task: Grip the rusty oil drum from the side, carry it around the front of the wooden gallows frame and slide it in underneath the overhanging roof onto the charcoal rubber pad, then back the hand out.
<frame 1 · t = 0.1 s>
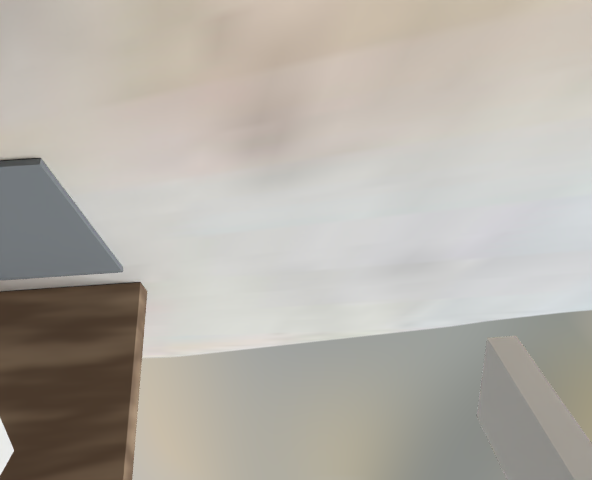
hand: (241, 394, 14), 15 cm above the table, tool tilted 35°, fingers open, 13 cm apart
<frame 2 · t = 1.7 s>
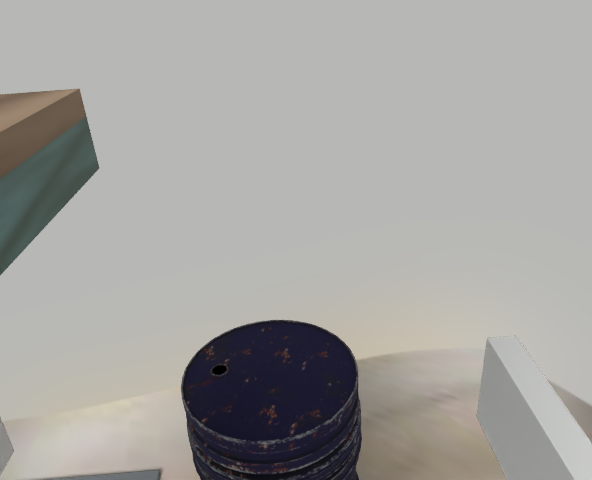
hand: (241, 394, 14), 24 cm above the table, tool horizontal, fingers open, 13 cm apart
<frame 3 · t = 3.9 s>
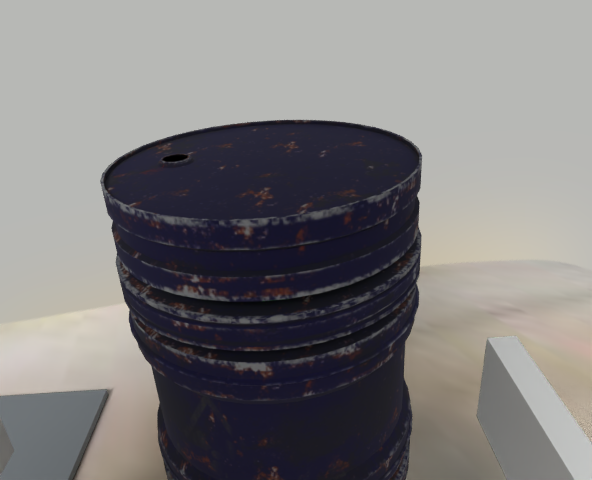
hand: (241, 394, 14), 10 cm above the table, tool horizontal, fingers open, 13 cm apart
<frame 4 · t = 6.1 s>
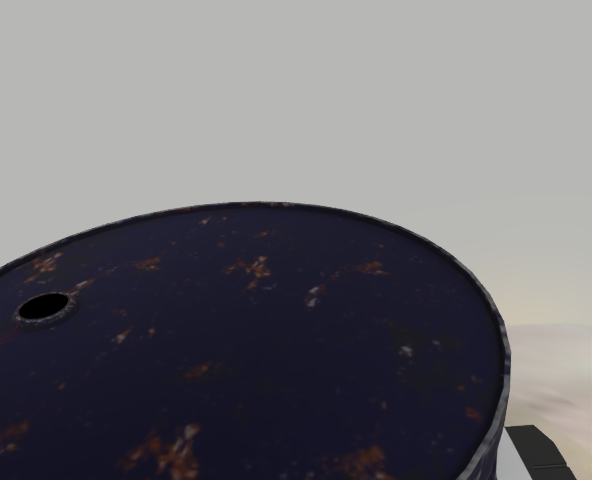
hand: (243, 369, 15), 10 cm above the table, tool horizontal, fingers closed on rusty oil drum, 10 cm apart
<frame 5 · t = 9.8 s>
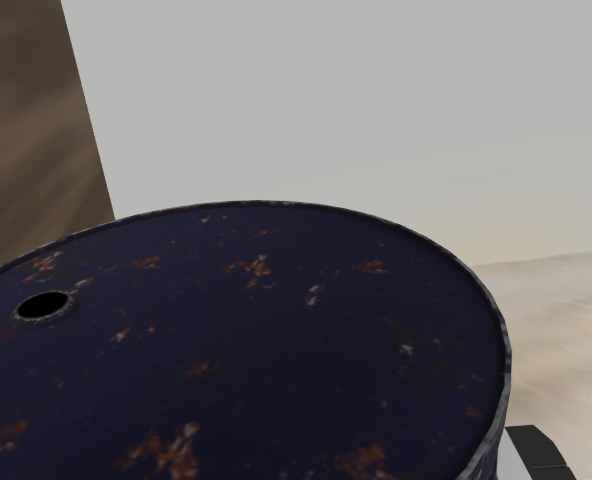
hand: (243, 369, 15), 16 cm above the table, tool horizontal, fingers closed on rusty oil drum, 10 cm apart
wooden gallows frame: (283, 423, 33), on the table
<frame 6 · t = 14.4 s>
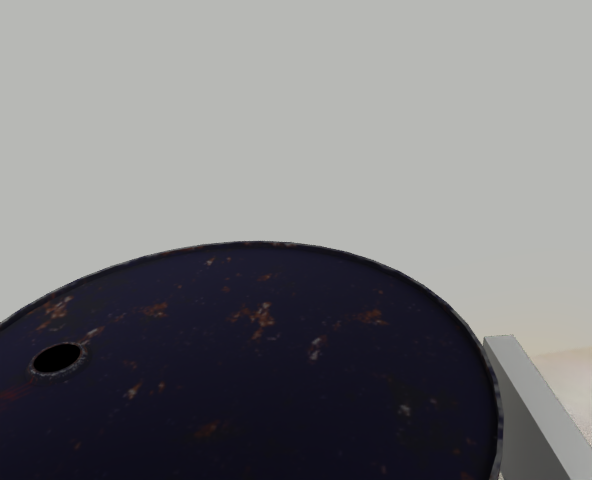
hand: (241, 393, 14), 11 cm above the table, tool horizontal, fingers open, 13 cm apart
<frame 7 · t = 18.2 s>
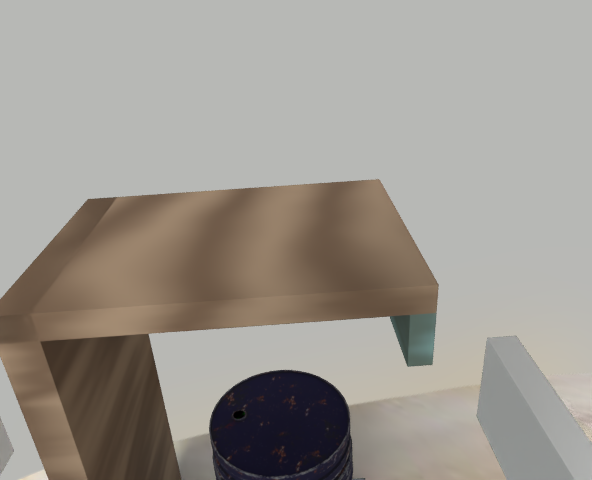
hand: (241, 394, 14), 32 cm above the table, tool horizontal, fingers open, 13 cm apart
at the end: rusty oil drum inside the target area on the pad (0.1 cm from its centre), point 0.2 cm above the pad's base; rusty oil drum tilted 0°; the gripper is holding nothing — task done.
